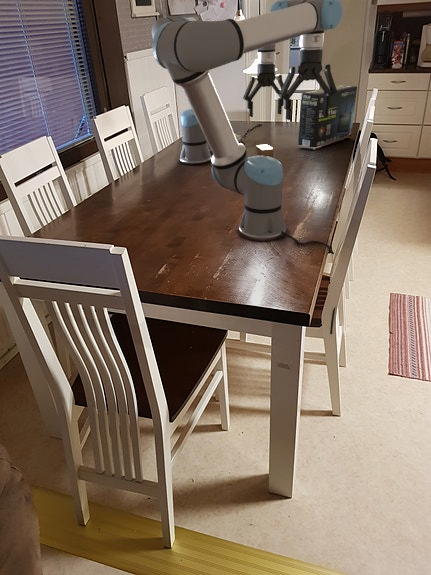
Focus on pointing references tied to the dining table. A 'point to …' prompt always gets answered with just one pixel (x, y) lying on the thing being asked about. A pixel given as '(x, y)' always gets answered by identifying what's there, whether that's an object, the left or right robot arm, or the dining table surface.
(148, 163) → the dining table surface
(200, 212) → the dining table surface
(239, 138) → the fossil
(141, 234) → the dining table surface
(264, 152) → the brick
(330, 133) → the router box
